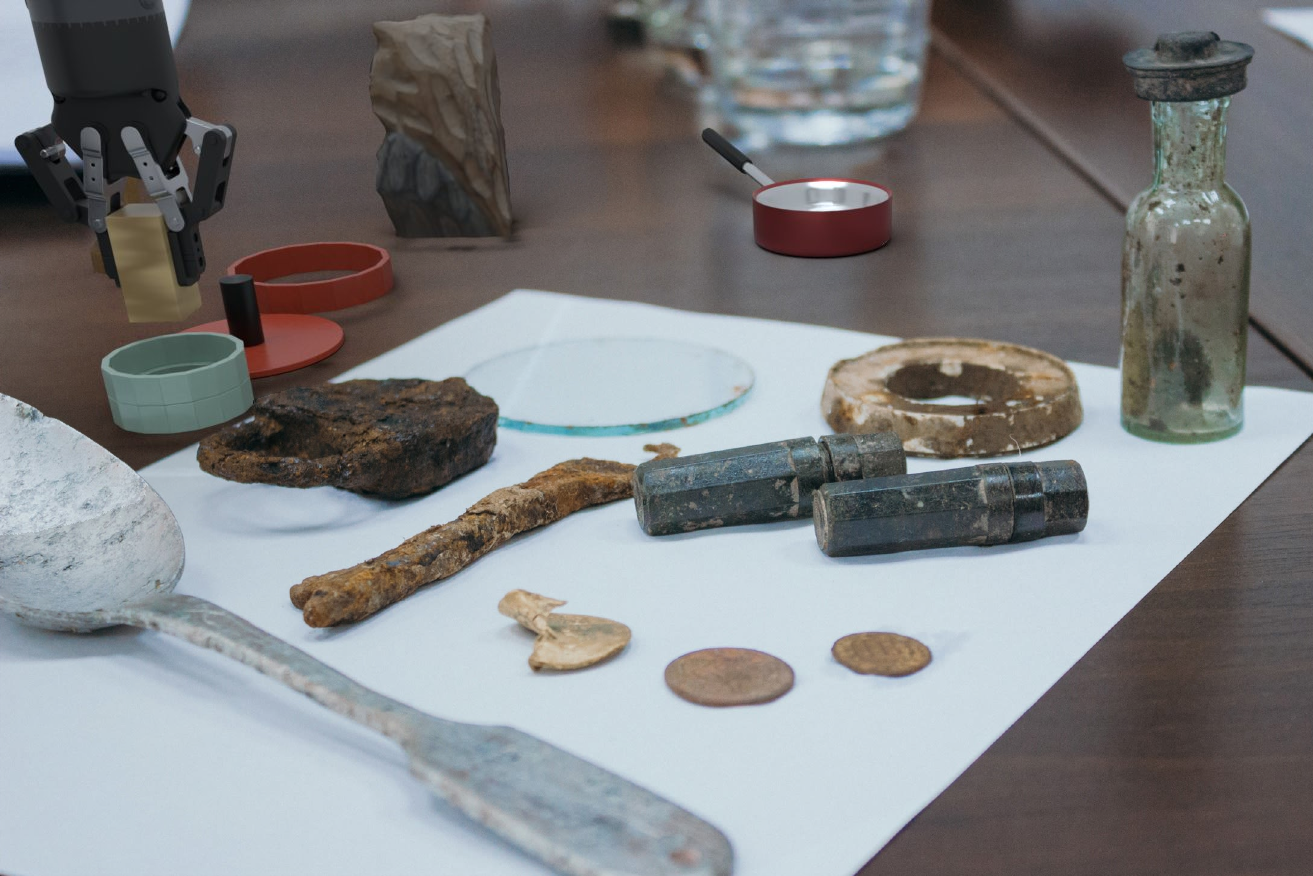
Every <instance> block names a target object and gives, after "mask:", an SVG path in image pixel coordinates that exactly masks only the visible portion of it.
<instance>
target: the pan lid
mask: <svg viewBox="0 0 1313 876" xmlns="http://www.w3.org/2000/svg"><path fill="white" fill-rule="evenodd" d="M218 282H219V289H220V293H221V298H222V302H223V308H224V313H225V319H220V320H215V321H211V322H206V323H203V324H200V325H199V324H198V325H196V326H193V327H190V328H187V329H184V330H182V331H179V332H176V333H175V334H178V333H186V332H187V333H188V332H214V333H221V334H227V335H232V336H234V337H236V338H238V339H240V340H242V341H243V343H244V348H245V353H246V358H247V363H248V369H249V374H250V379H251V380H252V379H259V378H264V377H269V376H275V375H280V374H284V373H287V372H292V371H295V370H298V369H302V368H305V367H308V366H311V365H313V364H316V363H318V362H321V361H323V360H325V359H326V358H328V357H330V356H331V355H333V354H334V353H336V352H337V351H338V350H339V349H341V347H342V346H343V344H344V341H345V334H344V333H345V332H344V330H343V328H342V327H341V326H340V325H339V324H338V323H336V322H334V321H333V320H330V319H327V318H324V317H321V316H315V315H310V314H303V315H299V314H261V313H260V312H259V307H258V302H257V296H256V291H255V286H254V280H253V277H252V276H251V275H246V274H238V275H230V276H228V275H226V276H223V277H221V278H219V279H218Z"/></svg>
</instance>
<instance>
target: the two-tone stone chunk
mask: <svg viewBox="0 0 1313 876" xmlns="http://www.w3.org/2000/svg"><path fill="white" fill-rule="evenodd" d="M371 29H372V31H373V36H374V37H375V38H376V48H375V51H374V52H373V55H372V58H371V62H370V66H369V74H368V75H369V79H370V83H369V85H368V90H369V96H370V98H369V99H370V102H371V109H372V113H373V114H374V115H375V116H376V117H377V119H378V120H379V122H380V123H381V124H382V125H383V127H384V131H385V135H384V138H383V140H382V143H381V144H380V146H379V148H378V149H377V151H376V153H375V157H376V159H377V162H378V171H377V173H376V174H375V175H376V176H375V179H376V180H375V188H376V189H375V191H376V192H377V193H378V195H379V196H380V197H381V199H382V202H383V205H384V208H385V210H386V213H387V215H388V217H389V219H390V221H391V223H392V225H393V227H394V229H395V232H396V237H397V238H401V239H430V238H431V239H432V238H433V239H445V238H446V239H447V238H448V239H449V238H453V239H454V238H469V239H477V238H479V239H480V238H500V237H501V238H503V237H512V234H513V233H512V225H513V223H514V217H513V205H512V202H511V200H512V199H511V189H510V185H511V184H510V174H509V168H508V158H507V149H506V139H505V128H504V125H503V123H502V119H501V102H502V101H501V95H502V93H501V89H500V79H499V73H498V62H497V57H496V56H497V55H496V52H495V49H494V47H493V28H492V24H491V21H490V19H489V18H488V17H487V15H486V14H485V12H484V10H480V11H478V12H475V13H473V14H464V13H459V14H451V13H444V12H440V13H437V12H430V13H426V14H420V15H418V16H416V17H415V19H410V20H403V21H393V20H381V21H373V23H372V24H371Z"/></svg>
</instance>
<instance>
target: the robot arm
mask: <svg viewBox="0 0 1313 876" xmlns="http://www.w3.org/2000/svg"><path fill="white" fill-rule="evenodd" d="M24 3H25V6H26V8H27V10H28V13H29V18H30V21H31V27H32V30H33V33H34V38H35V43H36V47H37V51H38V55H39V59H40V63H41V67H42V70H43V75H44V80H45V84H46V87H47V89H48V91H49V92H50V94H51V96H52V100H53V108H52V111H51V115H50V122H49V123H48V124H45V125H44V126H38V127H36V128H33V129H29V130H27V131H25V132H22V133H21V134H19V135H17V136H15V138H14V143H13V144H14V147H15V149H16V150H17V152H18V153H19V155H20V157H21V158H22V160H23V161H24V163H25V165H26V167H27V168H28V169H29V171H30V172H31V174H32V175H33V178H35V180H36V183H38V185H39V187H40V188H41V190H42V191H43V193H44V194H45V196H46V198H47V199H48V200H49V202H50V204H51V205H52V207H53V209H54V210H55V211H56V213H57V215H58V216H59V218H60V219H61V220H62V222H64V223H66V224H69V225H71V224H74V223H77V224H80V225H83V226H87V227H88V228H90V229H91V230H92V231H93V232H94V233H95V236H96V240H98V244H99V248H100V252H101V256H102V260H103V265H104V269H105V272H106V273H105V274H106V275H107V277H108V279H109V280H113V281H114V283H115V287H117V288H119V289H122V288H121V284H120V280H119V276H118V271H117V267H116V263H115V259H114V255H113V250H112V246H111V242H110V238H109V233H108V229H107V225H106V221H105V217H107V216H109V215H110V214H112V213H114V212H116V211H117V210H119V209H121V208H123V207H124V189H125V188H126V185H127V176H129V177H133V178H137V180H141V181H142V183H143V184H144V187H145V190H146V191H147V193H148V196H149V197H150V198H152V199H154V201H155V202H156V203H157V205H158V207H159V209H160V211H161V214H162V216H163V218H164V221H165V223H166V225H167V227H168V228H169V229H170V231H169V232H167V236H168V241H169V245H170V250H171V255H172V259H173V264H174V268H175V273H176V278H177V282H178V285H179V286H181V287H188V286H192V285H193V284H195V283H196V282H197V283H198V282H200V279H201V275H202V274H203V273H205V271H206V267H207V261H206V257H205V252H204V247H203V242H202V238H201V237H202V236H201V233H200V227H199V226H200V222H204V221H207V220H208V219H210V218H211V217H213V216H214V215H216V214H218V213H219V212H220V211H222V210H223V209H224V206H225V202H226V196H227V190H228V185H229V182H230V181H229V180H230V174H231V169H232V165H233V159H234V152H235V147H236V142H237V137H238V132H237V129H236V128H235V126H234V125H232V124H231V123H229V122H223V123H220V124H219V125H216V124H213V123H211V122H208V121H206V120H202V119H199V118H196V117H194V116H193V113H192V111H191V109H190V107H189V106H188V105H187V104H186V102H185V101H184V99H183V97H182V95H181V92H180V84H179V74H178V69H177V65H176V60H175V54H174V50H173V45H172V41H171V40H172V39H171V35H170V30H169V25H168V20H167V16H166V10H165V6H164V1H163V0H24ZM187 138H189V139H190V140H191V143H192V151H193V153H194V155H195V156H197V157H198V158H199V160H198V163H197V164H198V165H197V171H196V177H195V182H194V188H193V193H192V192H191V190H190V188H189V176H188V173H187V171H186V169H185V167H184V165H183V162H182V160H181V157H180V155H179V154H180V152H181V150H182V148H183V146H184V144H185V142H186V140H187ZM66 145H67V146H68V147H69V148H70V150H71V151H73V152H74V153H75V155H76V156H77V157H78V158H79V159H80V160H81V161H82V164H83V165H82V166H83V168H82V169H83V171H82V172H83V182H82V181H81V179H80V177H79V175H78V174H77V173H76V171H75V170H74V168H73V166H72V165H71V163H70V161H69V160H68V158H67V156H65V155H66V152H67V148H66V147H67V146H66Z"/></svg>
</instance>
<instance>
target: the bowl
mask: <svg viewBox="0 0 1313 876" xmlns="http://www.w3.org/2000/svg"><path fill="white" fill-rule="evenodd" d="M177 333H178V334H176V333H170V334H164V335H163V334H162V335H158V336H154V337H149V338H145V339H142V340H136V341H134V342H130V343H129V344H126V345H124V346H121V347H119V348H116V349H114V350H112V351H111V352H110V353H108V354H107V355H106V356H104V357H103V358H102V359H101V365H100V370H101V374H102V379H103V383H104V387H105V390H106V395H107V398H108V403H109V406H110V411H111V415H112V419H113V423H114V424H115V425H116V426H118V427H119V428H121V429H122V430H124V431H128V432H131V433H132V432H133V433H136V434H137V433H138V434H144V435H162V434H163V435H168V434H170V435H171V434H172V435H173V434H178V433H184V432H185V433H186V432H192V431H199V430H203V429H207V428H209V427H213V426H217V425H221V424H223V423H227V422H229V421H231V420H233V419H235V418H237V417H239V416H242V415H244V414H245V413H246V412H247V411H248V410H249V409H250V408H252V406H253V405H254V404H253V400H254V401H255V394H254V390H253V383H252V379H250V374H249V369H248V363H247V358H246V353H245V348H244V343H243V341H242V340H240V339H238V338H236V337H234V336H232V335H227V334H221V333H214V332H188V333H187V332H186V333H179V332H177Z"/></svg>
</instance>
